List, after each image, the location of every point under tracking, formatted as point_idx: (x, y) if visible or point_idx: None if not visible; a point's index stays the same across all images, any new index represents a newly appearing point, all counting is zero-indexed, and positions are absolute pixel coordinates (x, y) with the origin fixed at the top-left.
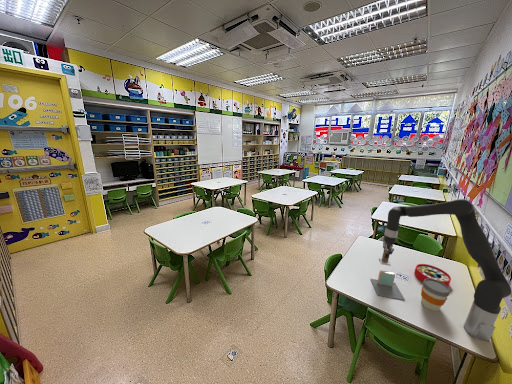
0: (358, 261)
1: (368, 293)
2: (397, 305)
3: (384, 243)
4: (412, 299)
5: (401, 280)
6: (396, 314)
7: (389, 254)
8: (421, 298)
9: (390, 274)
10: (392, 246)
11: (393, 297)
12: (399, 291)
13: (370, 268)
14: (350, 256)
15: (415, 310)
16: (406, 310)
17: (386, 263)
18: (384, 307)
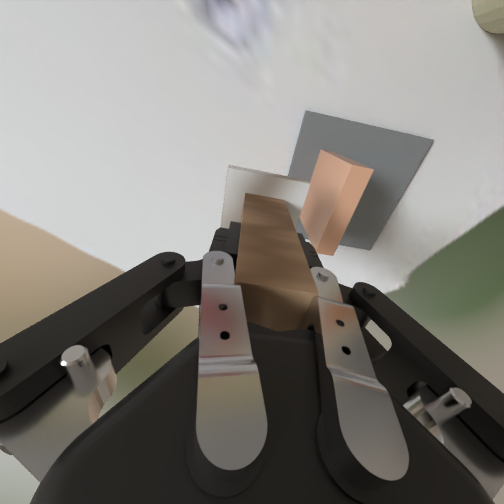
0: (134, 228)
1: (351, 272)
2: (438, 197)
3: (122, 358)
4: (441, 81)
5: (278, 29)
6: (469, 227)
7: (301, 249)
8: (499, 19)
9: (357, 200)
10: (491, 499)
11: (402, 193)
12: (376, 131)
13: (183, 192)
14: (100, 249)
15: (499, 124)
16: (476, 173)
17: (293, 216)
18: (426, 251)
